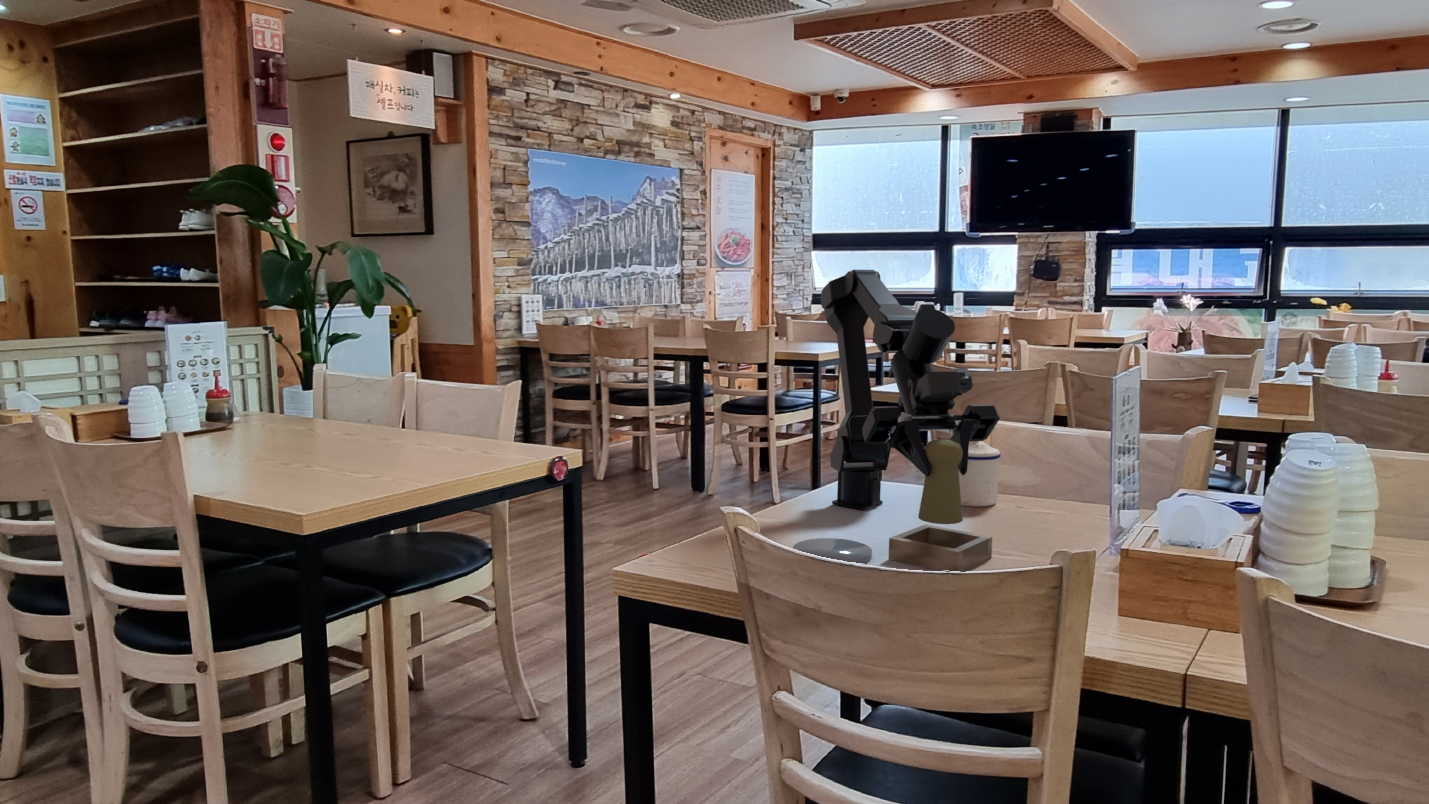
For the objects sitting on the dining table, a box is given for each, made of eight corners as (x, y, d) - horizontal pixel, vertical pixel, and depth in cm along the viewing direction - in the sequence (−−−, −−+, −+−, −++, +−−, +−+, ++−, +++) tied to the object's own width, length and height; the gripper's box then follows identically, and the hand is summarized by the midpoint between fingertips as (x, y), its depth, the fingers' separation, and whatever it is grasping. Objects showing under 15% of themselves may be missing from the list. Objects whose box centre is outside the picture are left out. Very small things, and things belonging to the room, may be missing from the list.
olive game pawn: (963, 525, 136) (967, 445, 135) (918, 522, 137) (921, 443, 136) (962, 514, 142) (965, 437, 140) (918, 512, 143) (921, 435, 142)
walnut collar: (888, 559, 140) (889, 538, 139) (924, 544, 147) (925, 524, 147) (957, 574, 133) (958, 552, 133) (991, 557, 141) (992, 536, 140)
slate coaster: (777, 556, 140) (777, 549, 140) (821, 540, 149) (821, 534, 149) (844, 572, 133) (844, 564, 133) (886, 554, 142) (886, 547, 142)
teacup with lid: (1009, 502, 175) (1012, 436, 173) (975, 510, 169) (978, 441, 168) (954, 490, 184) (957, 427, 182) (920, 496, 178) (923, 432, 177)
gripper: (872, 348, 138) (900, 442, 129) (997, 348, 142) (1032, 438, 133) (851, 397, 147) (875, 488, 138) (969, 395, 151) (1000, 483, 142)
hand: (946, 474), depth 137 cm, fingers closed on olive game pawn, 5 cm apart
